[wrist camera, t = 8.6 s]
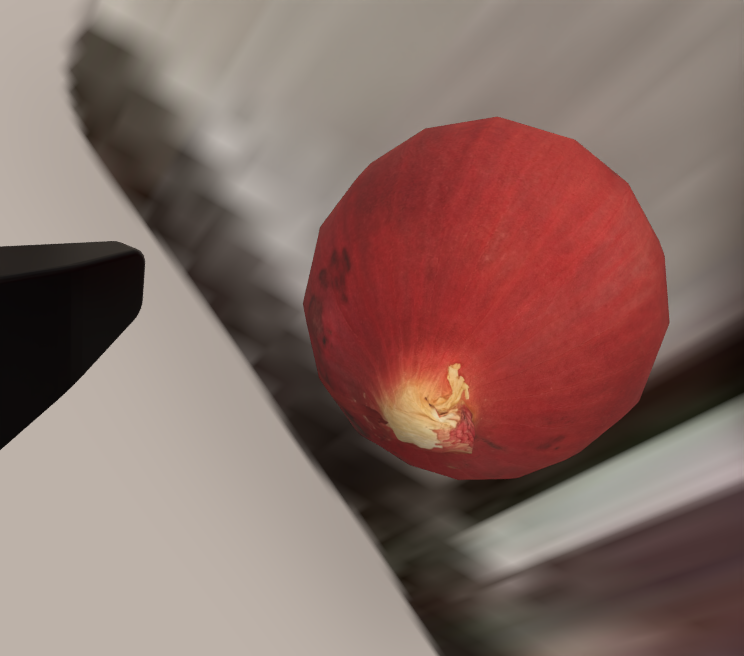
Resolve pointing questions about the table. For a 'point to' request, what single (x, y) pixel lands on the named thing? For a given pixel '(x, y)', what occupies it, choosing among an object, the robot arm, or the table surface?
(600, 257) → the onion
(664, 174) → the table surface
